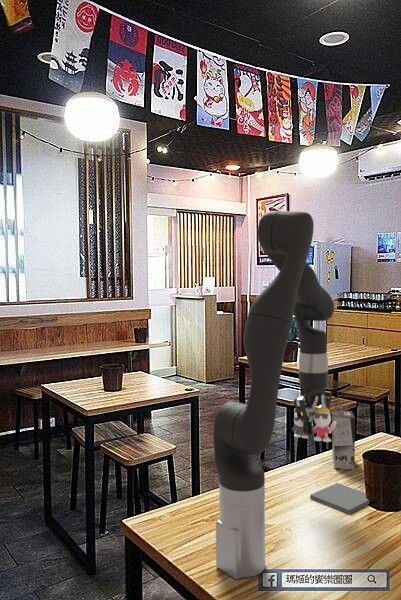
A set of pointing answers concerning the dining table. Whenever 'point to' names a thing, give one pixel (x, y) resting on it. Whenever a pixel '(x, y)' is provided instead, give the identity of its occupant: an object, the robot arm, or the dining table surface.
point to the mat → (341, 498)
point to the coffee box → (343, 439)
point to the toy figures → (322, 422)
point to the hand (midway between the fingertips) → (313, 432)
